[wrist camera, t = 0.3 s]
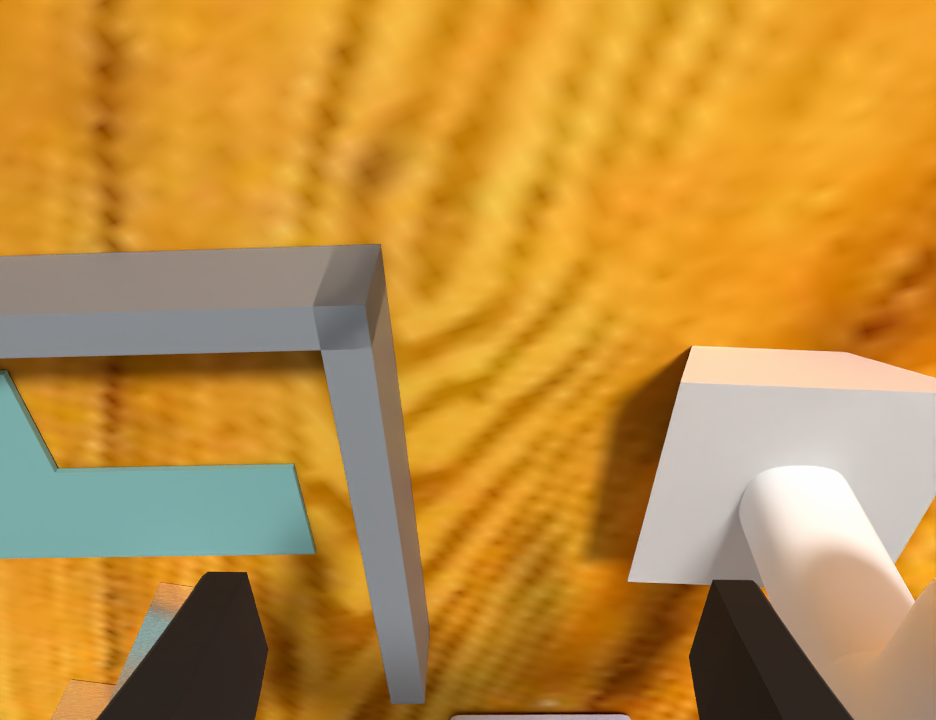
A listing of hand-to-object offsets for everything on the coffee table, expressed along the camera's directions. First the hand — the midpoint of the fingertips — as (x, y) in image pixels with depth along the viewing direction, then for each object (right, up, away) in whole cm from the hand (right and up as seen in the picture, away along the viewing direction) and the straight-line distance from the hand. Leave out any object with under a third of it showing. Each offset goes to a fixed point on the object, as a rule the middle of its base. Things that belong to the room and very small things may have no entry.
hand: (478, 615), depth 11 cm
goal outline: (-12, 0, +12) cm, 17 cm away
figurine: (+8, +3, +10) cm, 13 cm away
